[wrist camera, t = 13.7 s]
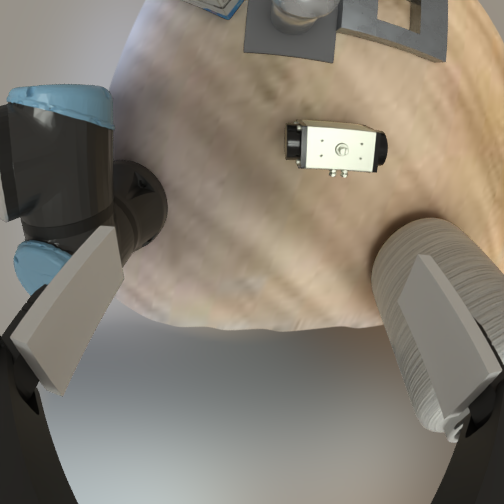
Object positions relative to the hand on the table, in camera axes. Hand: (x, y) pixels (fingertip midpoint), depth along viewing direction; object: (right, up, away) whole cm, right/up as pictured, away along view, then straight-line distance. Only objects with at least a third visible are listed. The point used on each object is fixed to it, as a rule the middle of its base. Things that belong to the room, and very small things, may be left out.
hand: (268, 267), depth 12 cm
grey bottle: (+5, +31, +17) cm, 36 cm away
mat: (+5, +32, +17) cm, 37 cm away
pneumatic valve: (+9, +17, +27) cm, 33 cm away
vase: (+29, 0, +36) cm, 46 cm away
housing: (+19, +35, +15) cm, 42 cm away
